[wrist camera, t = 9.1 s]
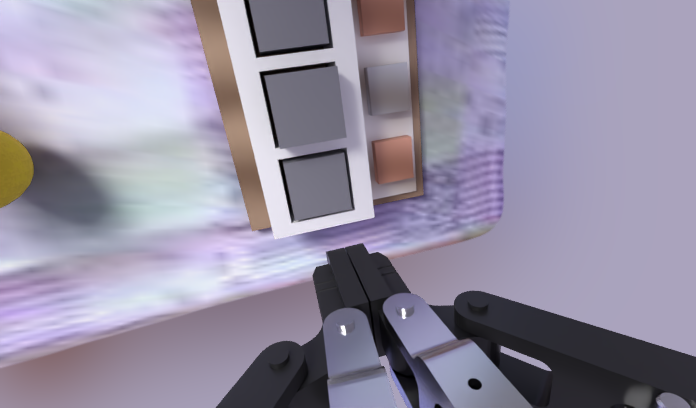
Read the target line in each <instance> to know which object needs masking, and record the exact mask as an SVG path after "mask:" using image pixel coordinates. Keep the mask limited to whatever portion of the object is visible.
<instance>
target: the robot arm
mask: <svg viewBox="0 0 696 408" xmlns="http://www.w3.org/2000/svg"><path fill="white" fill-rule="evenodd" d="M326 255H327V261H328V264H327V265H323V266H319V267H316V269H315V271H314V274H313V280H314V285H315V289H316V294H317V299H318V303H319V308H320V313H321V317H322V321H323V325H322V328H321V330H320V332H319V334H318V335H317V336H316V337H315V338H313V339H312V340H311V341H309V342H308V343H306V344H304V345H302V346H300V345H299V344H297V343H295V342H292V341H282V342H277V343H275V344H272V345H270V346H269V347H267V348H266V349H265V350H264V351H262V352H261V353H260V355H259V356H258V357H257V358H256V359H255V361H254V362H253V363H252V364H251V365H250V367H249V368H248V369H247V370H246V372H245V373H244V374H243V376H241V378H240V379H239V380H238V382H237V383H236V384H235V385H234V386H233V387H232V389H231V390H230V391H229V392H228V394H227V395H226V396H225V397H224V398H223V400H222V401H221V402H220V403H219V404H218V406H217V407H216V408H397V405H396V402H395V399H394V396H393V392H392V389H391V386H390V383H389V380H388V376H387V373H386V370H385V368H384V366H381V363H380V360H379V357H380V356H384V355H386V356H387V358H388V360H389V365H390V373H391V376H392V378H393V380H394V382H395V384H396V386H397V388H398V390H399V392H400V394H401V396H402V398H403V400H404V402H405V404H406V406H407V408H696V357H694V356H691V355H688V354H685V353H681V352H678V351H675V350H671V349H668V348H665V347H662V346H659V345H655V344H652V343H648V342H645V341H642V340H639V339H636V338H632V337H629V336H626V335H622V334H619V333H616V332H613V331H609V330H606V329H603V328H600V327H596V326H593V325H590V324H587V323H583V322H580V321H577V320H574V319H570V318H567V317H564V316H560V315H557V314H554V313H551V312H547V311H544V310H540V309H538V308H534V307H531V306H528V305H524V304H521V303H518V302H515V301H511V300H508V299H505V298H502V297H499V296H495V295H492V294H489V293H485V292H481V291H467V292H464V293H461V294H460V295H458V296H457V297H456V299H455V301H454V305H453V306H432V305H428V304H427V303H426V302H425V301H424V300H423V299H422V298H421V297H420V296H418V295H415V294H411V292H410V291H409V289H408V288H407V286H406V285H405V283H404V282H403V280H402V279H401V277H400V276H399V274H398V273H397V272H396V270H395V268H394V267H393V266H392V264H391V262H390V261H389V259H388V258H387V257H386V256H384V255H382V254H381V253H379V252H376V253H372V254H369V253H368V251H367V250H366V248H365V246H364V245H363V243H361V244H357V245H353V246H349V247H345V249H344V248H340V249H336V250H332V251H328V252H326ZM501 346H504V347H506V348H509V349H512V350H514V351H517V352H519V353H522V354H524V355H527V356H529V357H532V358H535V359H537V360H540V361H542V362H543V363H545V364H546V365H547V366H548V367H549V368H550V369H551V370H552V371H546V370H544V369H541V368H539V367H536V366H534V365H531V364H529V363H526V362H523V361H521V360H519V359H516V358H514V357H511V356H509V355H506V354H504V353H501V352H500V349H501Z"/></svg>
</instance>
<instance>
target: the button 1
mask: <svg viewBox="0 0 696 408" xmlns="http://www.w3.org/2000/svg"><path fill="white" fill-rule="evenodd" d="M249 4H250V9H251V14H252V18H253V23H254V28H255V33H256V37H257V42H258V47H259V52H260V55H261V56H263V55H270V54H278V53H286V52H293V51H301V50H309V49H316V48H321V47H323V46H325V45H326V44H328V43H329V38H328V31H327V24H326V16H325V9H324V2H323V0H249Z"/></svg>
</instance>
